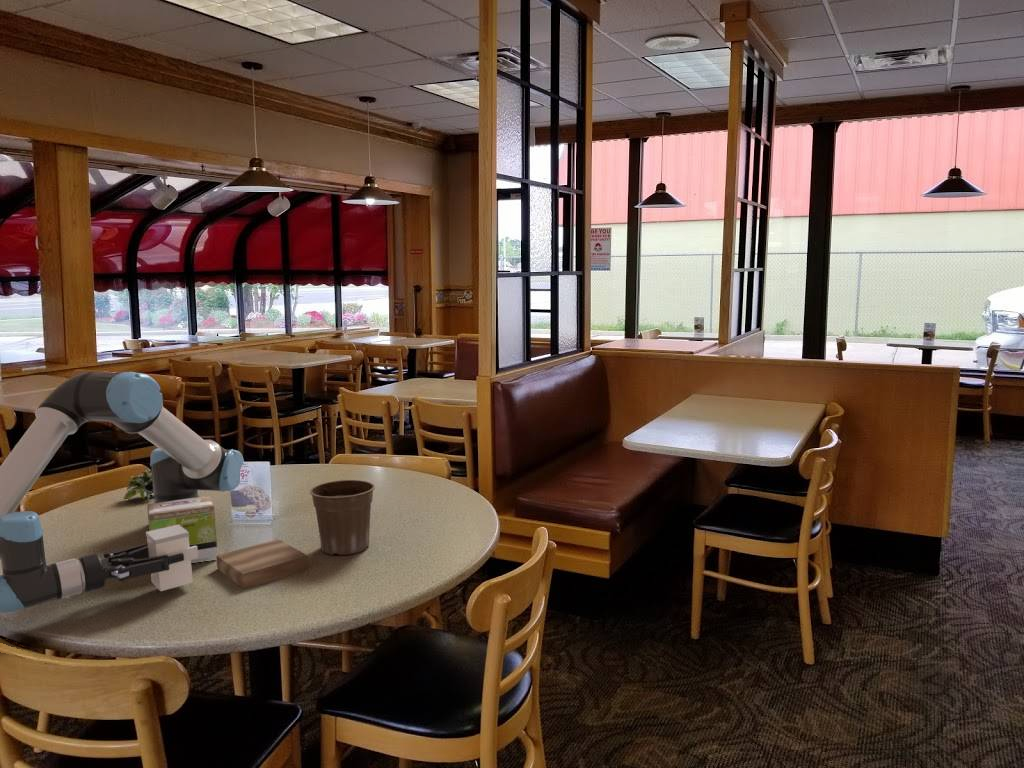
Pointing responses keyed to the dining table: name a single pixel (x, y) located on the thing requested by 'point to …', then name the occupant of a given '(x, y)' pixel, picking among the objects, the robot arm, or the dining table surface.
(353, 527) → the plant pot
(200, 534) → the tea box
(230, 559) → the block
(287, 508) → the dining table surface
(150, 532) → the white lidded box
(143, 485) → the green leafy plant
